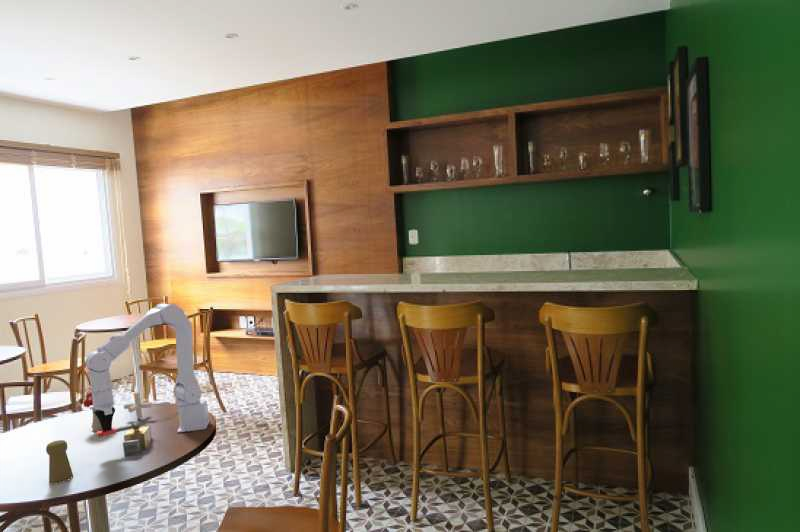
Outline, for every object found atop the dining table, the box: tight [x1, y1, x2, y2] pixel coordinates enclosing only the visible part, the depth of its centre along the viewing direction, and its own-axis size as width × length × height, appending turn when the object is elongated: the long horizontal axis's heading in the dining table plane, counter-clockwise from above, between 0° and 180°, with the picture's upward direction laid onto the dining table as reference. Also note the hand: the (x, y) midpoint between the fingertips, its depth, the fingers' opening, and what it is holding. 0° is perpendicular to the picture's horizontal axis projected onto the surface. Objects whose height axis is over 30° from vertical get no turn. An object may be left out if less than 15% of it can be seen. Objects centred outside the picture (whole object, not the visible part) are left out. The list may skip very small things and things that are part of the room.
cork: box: [45, 439, 74, 484], centre depth 162 cm, size 6×6×11 cm
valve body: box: [122, 424, 153, 457], centre depth 183 cm, size 6×14×6 cm, turn 9°
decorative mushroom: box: [83, 388, 102, 432], centre depth 204 cm, size 10×9×15 cm
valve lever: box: [96, 421, 142, 439], centre depth 180 cm, size 12×3×1 cm, turn 123°
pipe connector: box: [123, 391, 153, 420], centre depth 211 cm, size 10×10×10 cm
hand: (107, 431), depth 179 cm, fingers closed, pressing on valve lever
